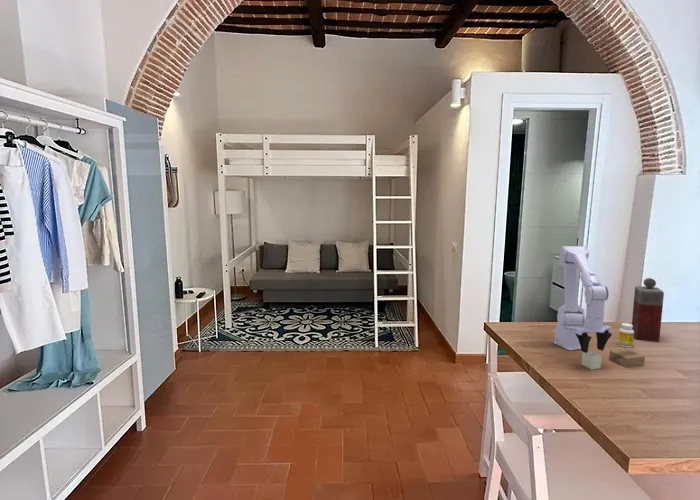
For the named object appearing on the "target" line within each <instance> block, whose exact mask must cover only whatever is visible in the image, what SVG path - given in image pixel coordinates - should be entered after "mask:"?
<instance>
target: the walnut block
mask: <svg viewBox="0 0 700 500" xmlns="http://www.w3.org/2000/svg"><path fill="white" fill-rule="evenodd" d="M645 357H646V356H645V355H642V354H640V353H637V352H635V351H633V350H630V349H628V348H625V349H624V348H622V349H610V350H609V358H608V360H609V361H611V362H613V363H615V364H617V365H621V366H622V367H624V368H627V369H628V368H637V367H645Z"/></svg>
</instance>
